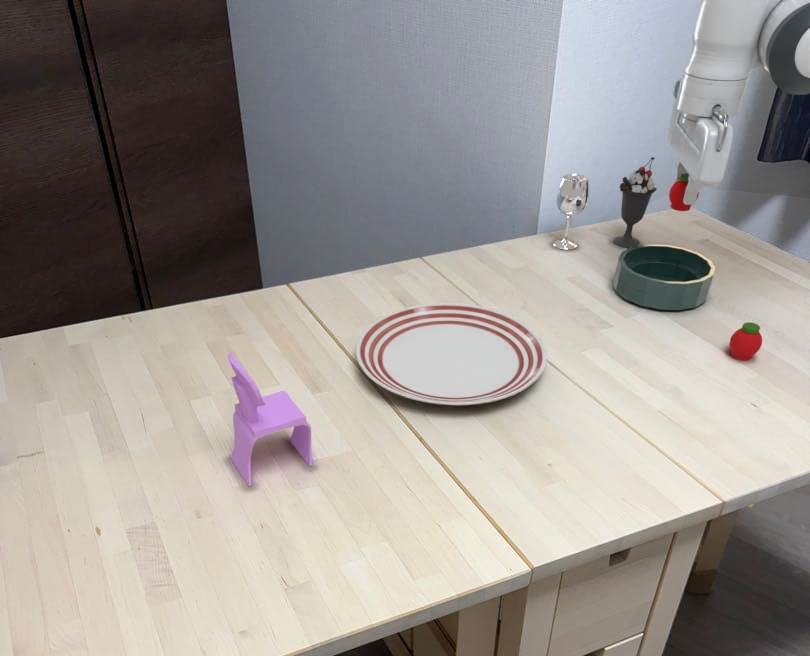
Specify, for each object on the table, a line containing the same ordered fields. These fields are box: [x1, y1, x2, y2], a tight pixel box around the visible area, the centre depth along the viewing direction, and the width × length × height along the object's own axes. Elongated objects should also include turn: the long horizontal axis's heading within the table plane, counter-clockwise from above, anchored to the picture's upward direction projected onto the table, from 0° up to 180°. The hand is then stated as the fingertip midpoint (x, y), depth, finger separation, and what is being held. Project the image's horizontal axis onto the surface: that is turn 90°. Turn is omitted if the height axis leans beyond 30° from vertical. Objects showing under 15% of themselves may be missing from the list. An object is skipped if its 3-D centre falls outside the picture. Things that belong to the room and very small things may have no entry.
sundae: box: [612, 156, 658, 249], centre depth 138 cm, size 7×7×15 cm
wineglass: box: [552, 173, 590, 250], centre depth 138 cm, size 6×6×12 cm
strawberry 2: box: [729, 321, 763, 361], centre depth 111 cm, size 4×4×5 cm
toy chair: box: [227, 352, 313, 487], centre depth 87 cm, size 8×9×15 cm
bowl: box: [612, 243, 717, 311], centre depth 126 cm, size 16×16×5 cm
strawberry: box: [668, 173, 700, 212], centre depth 116 cm, size 4×4×5 cm
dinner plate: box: [355, 302, 548, 406], centre depth 108 cm, size 27×27×3 cm
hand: (683, 196), depth 117 cm, fingers closed on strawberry, 4 cm apart
